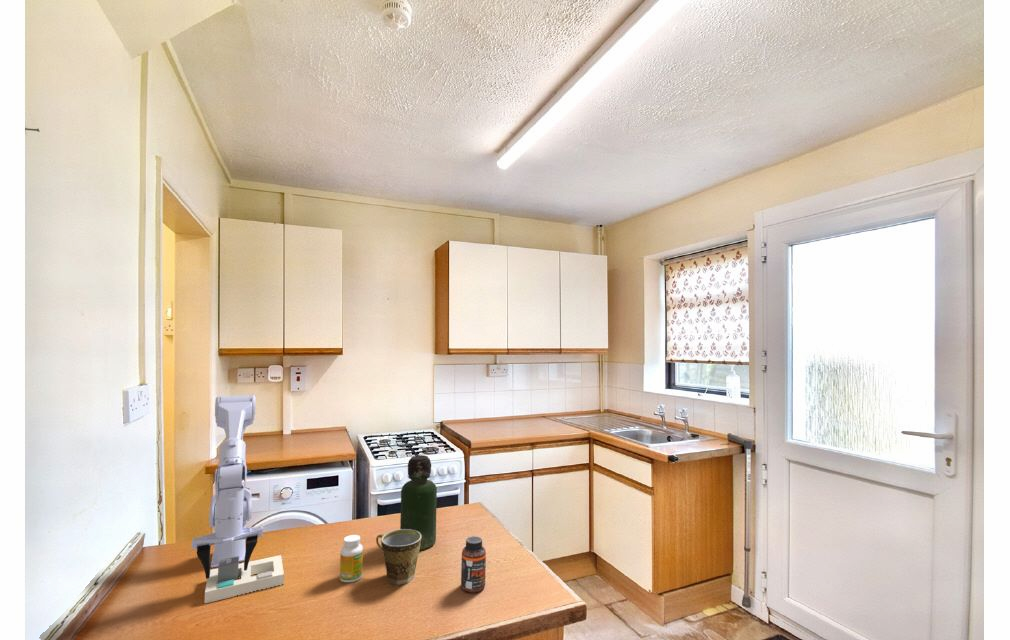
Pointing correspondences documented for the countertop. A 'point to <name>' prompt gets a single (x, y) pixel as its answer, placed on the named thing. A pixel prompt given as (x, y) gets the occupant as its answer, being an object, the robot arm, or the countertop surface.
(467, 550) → the supplement bottle
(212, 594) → the socket board
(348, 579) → the supplement bottle
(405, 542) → the ceramic cup
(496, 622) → the countertop surface
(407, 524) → the green bottle
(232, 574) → the plug
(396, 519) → the countertop surface
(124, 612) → the countertop surface
